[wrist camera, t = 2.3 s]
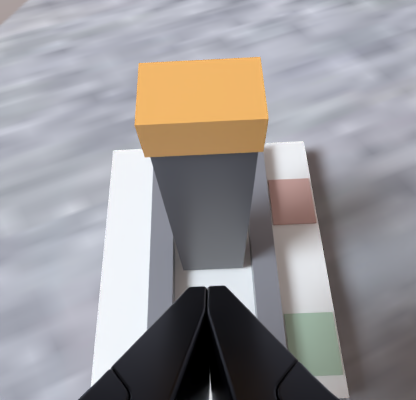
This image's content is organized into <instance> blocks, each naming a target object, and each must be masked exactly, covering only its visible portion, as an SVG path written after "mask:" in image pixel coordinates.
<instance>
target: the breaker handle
mask: <svg viewBox="0 0 416 400" xmlns="http://www.w3.org/2000/svg"><path fill="white" fill-rule="evenodd" d="M267 125H268V111H267V103H266V96H265V88H264V81H263V73H262V66H261V58H260V57H250V58H231V59H211V60H192V61H172V62H153V63H139V68H138V83H137V98H136V113H135V128H136V131H137V134H138V138H139V141H140V144H141V147H142V150H143V153H144V157H150V158H151V162H152V165H153V169H154V172H155V175H156V179H157V182H158V186H159V189H160V192H161V196H162V199H163V203H164V206H165V209H166V213H167V216H168V220H169V223H170V226H171V230H172V233H173V237H174V240H175V244H176V247H177V250H178V254H179V257H180V261H181V264H182V267H183V270H206V269H230V268H243V262H244V255H245V247H246V240H247V232H248V225H249V218H250V210H251V203H252V195H253V188H254V180H255V173H256V165H257V158H258V152H263V151H264V145H265V138H266V132H267Z"/></svg>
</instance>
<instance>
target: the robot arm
mask: <svg viewBox="0 0 416 400" xmlns="http://www.w3.org/2000/svg"><path fill="white" fill-rule="evenodd" d="M210 382H211V394H212V400H340V399H338V398H337V397H336V396H335V395H334V394H333V393H331V392H330V391H329V390H328V389H327V388H326V387H325V386H324V385H323V384H322V383H321V382H320V381H319V380H318V379H317V378H315V377H314V376H313V375H312V374H311V373H310V372H309V371H308V370H307V369H306V368H305V367H304V366H303V364H302V363H301V362H298V360H297V359H296V358H295V357H294V355H293V354H292V353H291V352H290V351H289V350H288V349H287V348H286V347H285V346H284V345H283V344H282V343H281V342H280V341H279V340H278V339H277V338H276V337H275V336H274V335H273V334H272V333H271V332H270V331H269V330H268V329H267V328H266V327H265V326H264V325H263V324H262V323H261V322H260V321H259V320H258V319H257V318H256V317H255V315H254V314H253V313H252V312H251V311H250V310H249V309H248V308H247V307H246V306H245V305H244V304H243V303H242V302H241V301H240V300H239V299H238V298H237V297H236V296H235V295H234V294H233V293H232V292H231V291H230V290H229V289H228V288H227V287H226V286H224V285H221V286H209V287H208V288H206V287H205V286H197V287H189V288H187V289H186V290H185V291H184V292H183V293H182V294H181V296H180V297H179V298H178V299H177V300H176V301H175V302H174V303H173V304H172V305H171V306H170V307H169V308H168V309H167V310H166V311H165V312H164V313H163V314H162V315H161V316H160V317H159V318H158V319H157V320H156V321H155V322H154V323H153V324H152V325H151V326H150V327H149V328H148V329H147V331H146V332H145V333H144V334H143V335H142V336H141V337H140V338H139V339H138V340H137V341H136V342H135V343H134V344H133V345H132V346H131V347H130V348H129V349H128V350H127V351H126V352H125V353H124V354H123V355H122V356H121V357H120V358H119V359H118V360H117V361H116V362H115V363H114V364H113V366H112V367H111V369H109V370H107V371H106V373H105V374H104V375H103V376H102V377H101V378H100V379H99V380H98V381H97V382H96V383H95V384H94V385H93V386H92V387H91V388H90V389H88V390H87V391H86V392H85V393H84V394H83V395H82V396H81V397H80V398H79V399H78V400H209V394H210Z"/></svg>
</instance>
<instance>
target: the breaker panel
mask: <svg viewBox="0 0 416 400" xmlns="http://www.w3.org/2000/svg"><path fill="white" fill-rule="evenodd" d="M221 285H224V286H226V287H227V288H228V289H229V290H230V291H231V292H232V293H233V294H234V295H235V296H236V297H237V298H238V299H239V300H240V301H241V302H242V303H243V304H244V305H245V306H246V307H247V308H248V309H249V310H250V311H251V312H252V313H253V314H254V315H255V317H256V318H257V319H258V320H259V321H260V322H261V323H262V324H263V325H264V326H265V327H266V328H267V329H268V330H269V331H270V332H271V333H272V334H273V335H274V336H275V337H276V338H277V339H278V340H279V341H280V342H281V343H282V344H283V345H284V346H285V347H286V348H287V349H288V350H289V351H290V352H291V353H292V354H293V355H294V357H295V358H296V359H297V360H298V362H301V363H302V364H303V366H304V367H305V368H306V369H307V370H308V371H309V372H310V373H311V374H312V375H313V376H314V377H315V378H317V379H318V380H319V381H320V382H321V383H322V384H323V385H324V386H325V387H326V388H327V389H328V390H329V391H330V392H331V393H333V394H334V395H335V396H336V397H337V398H338V399H340V398H349V392H348V387H347V381H346V375H345V370H344V364H343V359H342V353H341V347H340V342H339V336H338V331H337V325H336V319H335V314H334V308H333V303H332V297H331V291H330V286H329V280H328V275H327V269H326V263H325V258H324V252H323V247H322V241H321V235H320V230H319V224H318V219H317V213H316V207H315V202H314V196H313V191H312V185H311V179H310V174H309V168H308V163H307V157H306V151H305V146H304V141H300V142H279V143H265V145H264V151H263V152H258V158H257V165H256V173H255V180H254V188H253V195H252V203H251V210H250V218H249V225H248V232H247V240H246V247H245V255H244V262H243V268H230V269H206V270H183V267H182V264H181V261H180V257H179V254H178V250H177V247H176V244H175V240H174V237H173V233H172V230H171V226H170V223H169V220H168V216H167V213H166V209H165V206H164V203H163V199H162V196H161V192H160V189H159V186H158V182H157V179H156V175H155V172H154V169H153V165H152V162H151V158H150V157H144V153H143V150H142V149H132V150H113V159H112V170H111V180H110V191H109V201H108V212H107V222H106V233H105V243H104V254H103V264H102V275H101V285H100V296H99V306H98V317H97V327H96V337H95V348H94V358H93V369H92V379H91V387H92V386H93V385H94V384H95V383H96V382H97V381H98V380H99V379H100V378H101V377H102V376H103V375H104V374H105V373H106V371H107V370H109V369H111V367H112V366H113V364H114V363H115V362H116V361H117V360H118V359H119V358H120V357H121V356H122V355H123V354H124V353H125V352H126V351H127V350H128V349H129V348H130V347H131V346H132V345H133V344H134V343H135V342H136V341H137V340H138V339H139V338H140V337H141V336H142V335H143V334H144V333H145V332H146V331H147V329H148V328H149V327H150V326H151V325H152V324H153V323H154V322H155V321H156V320H157V319H158V318H159V317H160V316H161V315H162V314H163V313H164V312H165V311H166V310H167V309H168V308H169V307H170V306H171V305H172V304H173V303H174V302H175V301H176V300H177V299H178V298H179V297H180V296H181V294H182V293H183V292H184V291H185V290H186V289H187V288H189V287H197V286H205V287H206V288H208V287H209V286H221ZM209 400H212V394H211V382H210V394H209Z"/></svg>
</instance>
